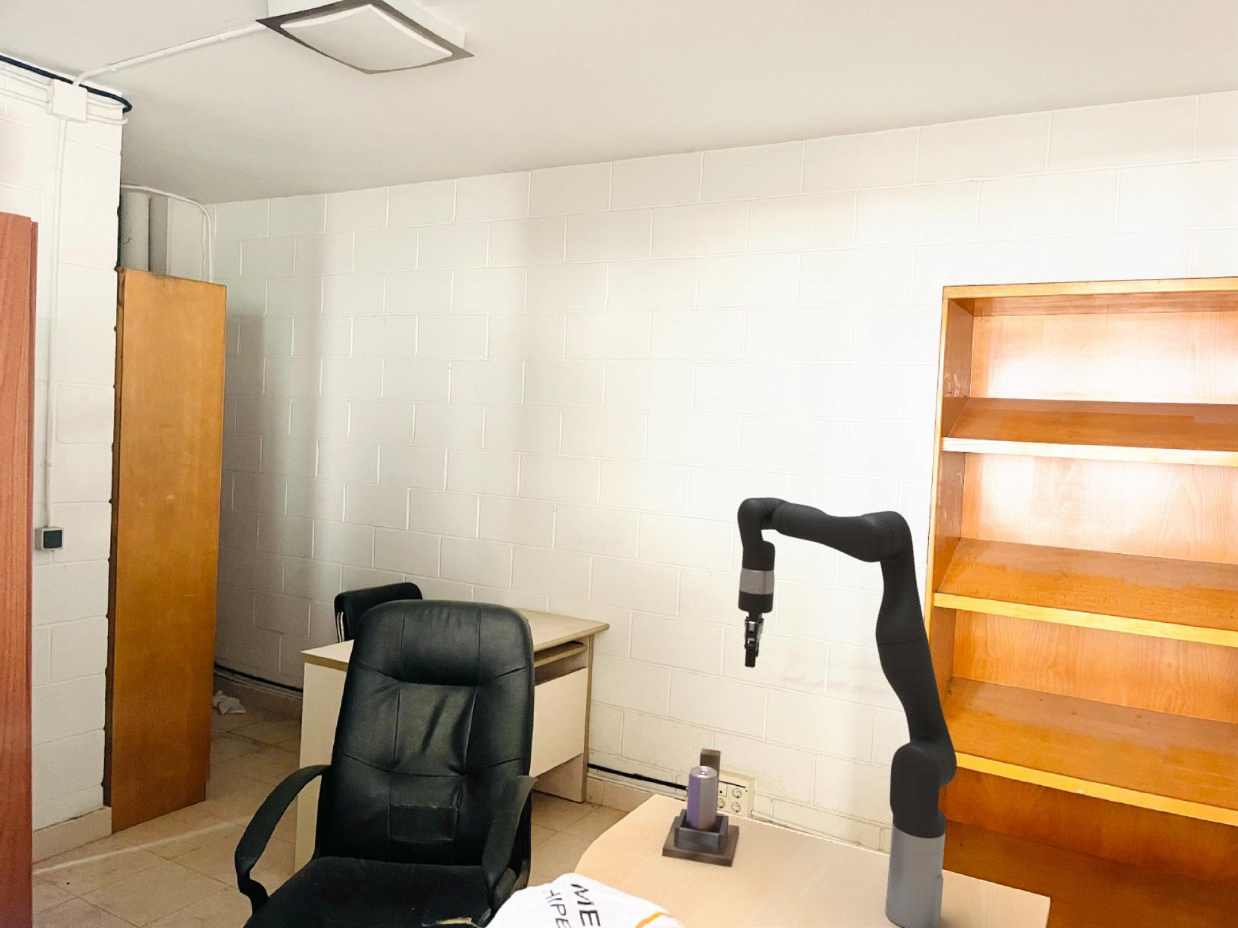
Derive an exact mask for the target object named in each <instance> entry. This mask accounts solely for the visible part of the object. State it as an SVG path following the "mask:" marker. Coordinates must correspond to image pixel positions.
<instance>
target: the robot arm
mask: <svg viewBox="0 0 1238 928" xmlns="http://www.w3.org/2000/svg"><path fill="white" fill-rule="evenodd" d="M736 519H737V520H736V521H737V525H738V531H739V535H740V541H741V545H742V558H741V570H740V574H739V582H738V583H739V585H738V586H739V587H738V602H737V608H738V610H740V611H742V612H746V613H748V616H745V619H744V634H743V639H744V645H743V647H744V650H745V656H744V666H745V667H747V668H751V669H752V668H755V667H756V662H757V661H756V659H757V658H758V657H759V655H760V654H759V653H760V641H761V637H762V636H761V635H762V634H763V628H764V623H765V618H764V617H763V614H768V613H769V614H770V613H772V611H773V609H774V596H775V595H774V593H775V579H776V578H775V564H776V563H775V561H776V547H775V544H773V543H772V542H771V541H768V540H765V539H764V536H763V532H762V531H769V530H770V531H772V530H775V531H776V532H777V533H779V534H780V535H783V536H786V537H790V538H795V539H799V540H803V541H809V542H813V543H817V544H819V545H824V546H826V547H828V548H831V549H833V550H836V551H839V552H840V553H843V554H845V555H847V556H849V557H851V558H854V559H856V560H859V561H861V562H865V563H879V566H880V569H881V575H882V585H883V587H882V588H883V591H882V597H881V598H882V599H881V603H880V606H879V610H878V615H877V618H876V624H875V634H874V635H875V643H876V646H877V647H876V648H877V651H878V652H877V653H878V657H879V663H880V666H881V670H882V672H883V675H884V677H885V678H886V680H887V682H888V684H889V685H890V687H891V688H892V690H893V692H894V694H895V695H896V696H897V698H898V700H899V701H900V704H901V705H902V708H903V711H904V713H905V717H906V722H907V730H908V736H909V742H907V743H905V744H903V745H902V746H900V747H899V748H897V749H896V751H895V752H894V755H893V757H892V761H891V767H890V775H889V776H890V778H889V779H890V781H889V806H890V810H891V812H892V822H891V835H890V836H891V837H890V845H889V846H890V848H889V860H888V861H889V862H888V871H887V886H886V887H887V888H886V896H885V897H886V898H885V911H884V912H885V914H886V917H887V918H888V919H890V921H892V922H893V923H894V924H896V925H898V926H900V927H903V928H940V927H941V926H940V925H941V914H942V901H943V900H942V899H943V892H944V891H943V890H944V889H943V888H944V876H943V864H944V853H945V851H944V850H945V838H946V827H947V818H946V816H945V814H944V812H943V811H942V810H940V808H939V804H940V789H942V788H943V787H945V786H947V785H948V784H950V783H951V782H952V781H953V780H954V779H955V776H956V774H957V771H958V770H957V769H958V762H957V761H958V760H957V756H956V751H955V748H954V745H953V741H952V737H951V734H950V731H949V728H948V726H947V722H946V719H945V716H944V712H943V708H942V705H941V704H942V703H941V700H940V695H939V694H940V693H939V687H938V684H937V680H936V679H937V678H936V673H935V671H934V665H933V658H932V653H931V649H930V643H929V639H928V634H927V629H926V626H925V621H924V617H923V616H924V615H923V611H922V603H921V600H920V599H921V598H920V593H919V588H918V582H917V581H918V580H917V573H916V564H915V551H914V544H913V543H914V542H913V537H912V536H913V535H912V532H911V529H910V526H909V523H908V521H907V520H906V519H905V517H904V516H903V515H902V514H901V513H899V512H897V511H894V510H885V511H877V512H869V513H864V514H861V515H856V516H855V515H852V516H851V515H849V516H837V515H831V514H828V513H826V512H825V511H823V510H822V509H819V508H818V507H814V506H811V505H806V504H800V503H795V502H789V501H788V500H784V499H782V498H777V497H768V496H767V497H748V498H745V499H744V500H742V502H740V505H739V507H738V509H737V514H736Z"/></svg>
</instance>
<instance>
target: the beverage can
mask: <svg viewBox="0 0 1238 928" xmlns="http://www.w3.org/2000/svg"><path fill="white" fill-rule="evenodd" d="M717 786H718V776H717V771H716V770H715V769H713V768H710V767H705V766H700V765H699V766H698V765H697V766H693V767H692V768H691V769H690V770H689V774H688V785H687V788H688V789H687V803H686V809H687V817H686V828H688V829H694V830H700V831H707V832H713V833H715V819H716V802H717ZM717 803H718V802H717Z"/></svg>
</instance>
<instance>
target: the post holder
mask: <svg viewBox="0 0 1238 928" xmlns="http://www.w3.org/2000/svg"><path fill="white" fill-rule="evenodd" d="M721 754H722V752H721V750H717V749H709V748H701V751H700V755H699V766H705V767H710V768H713V769H715V770H716V771H717V776H718V786H717V802H716V819H715V833H713V832H707V831H700V830H694V829H688V828H686V817H687V808H682V809H681V811H680V812H679V813H680V814H679V815H678V816H677V815H675V816H674V818H673V822H672V823H671V826H670V828H669V831H668V834H667V835H666V838H665V842H664V844H663V845H662V851H661V853H662V856H665V857H670V858H675V859H682V860H687V861H693V862H699V863H700V862H701V863H705V864H710V865H712V864H713V865H718V866H723V867H729V868H731V867H732V864H733V860H734V857H735V851H736V848H737V842H738V838H739V835H740V834H739V833H740V825H739V826H738V825H734V824H729V818H730V816H729V815H725V813H718V800H719V799H718V798H719V788H720V787H719V786H720V785H719V784H720V783H719V782H720V770H721Z"/></svg>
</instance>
